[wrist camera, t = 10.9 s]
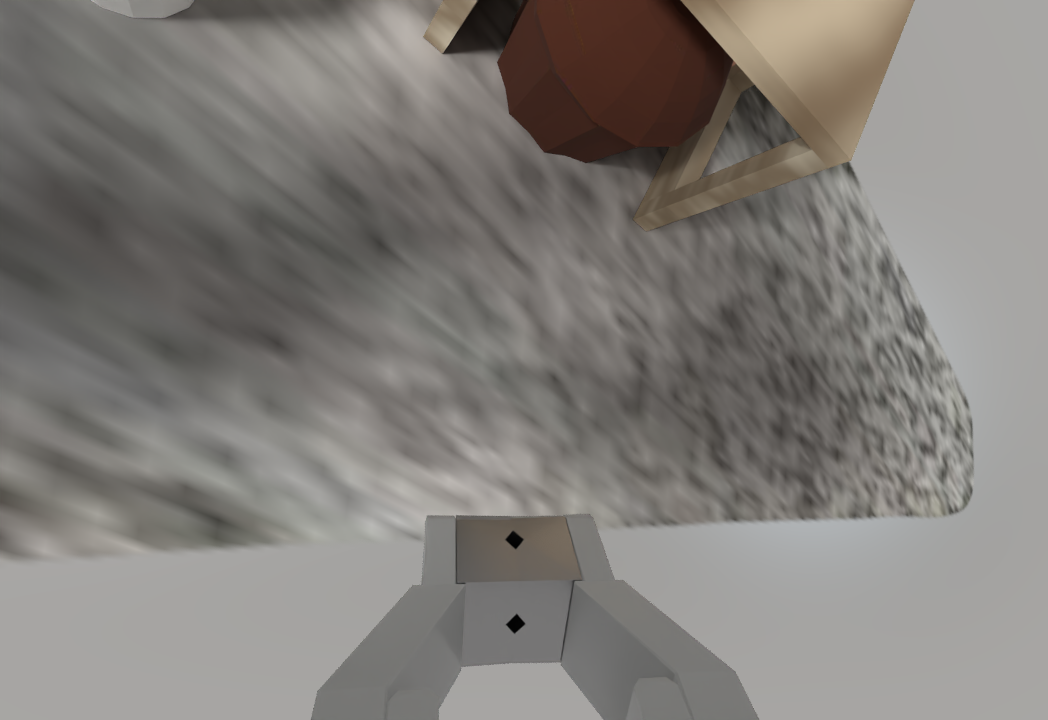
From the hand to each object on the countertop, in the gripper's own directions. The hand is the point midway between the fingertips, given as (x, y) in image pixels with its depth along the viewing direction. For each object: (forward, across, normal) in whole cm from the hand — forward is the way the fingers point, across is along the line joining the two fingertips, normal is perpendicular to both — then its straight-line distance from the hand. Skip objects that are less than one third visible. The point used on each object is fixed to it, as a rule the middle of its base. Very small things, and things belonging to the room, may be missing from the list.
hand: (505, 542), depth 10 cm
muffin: (+28, +5, +8) cm, 29 cm away
